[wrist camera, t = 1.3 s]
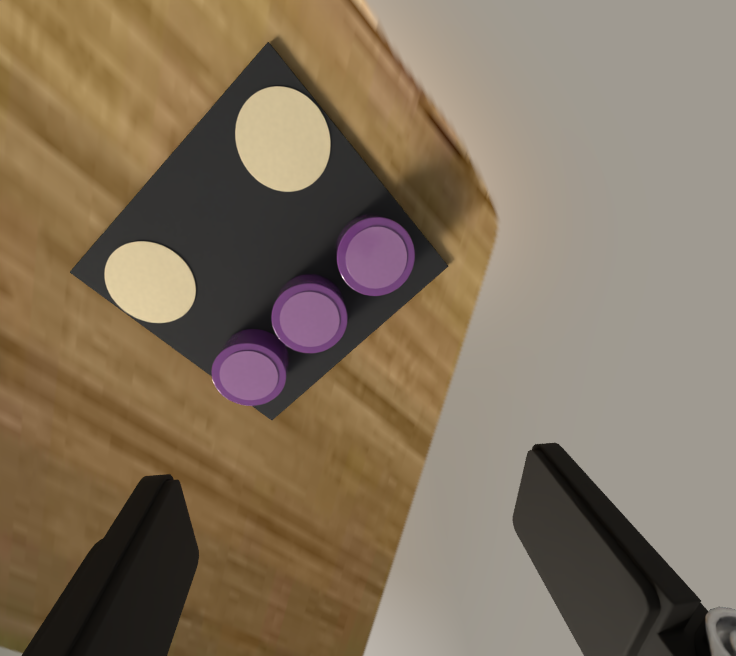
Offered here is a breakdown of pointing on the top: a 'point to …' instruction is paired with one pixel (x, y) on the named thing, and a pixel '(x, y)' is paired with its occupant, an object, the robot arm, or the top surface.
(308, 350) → the dish
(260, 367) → the dish
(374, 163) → the top surface
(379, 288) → the purple short cylinder
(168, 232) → the mat
